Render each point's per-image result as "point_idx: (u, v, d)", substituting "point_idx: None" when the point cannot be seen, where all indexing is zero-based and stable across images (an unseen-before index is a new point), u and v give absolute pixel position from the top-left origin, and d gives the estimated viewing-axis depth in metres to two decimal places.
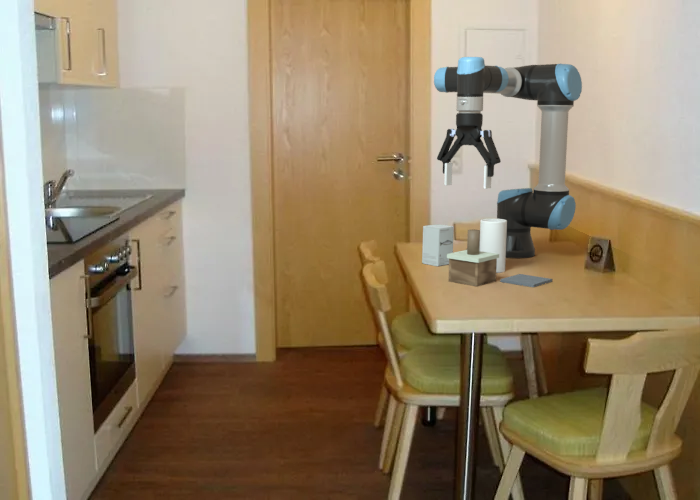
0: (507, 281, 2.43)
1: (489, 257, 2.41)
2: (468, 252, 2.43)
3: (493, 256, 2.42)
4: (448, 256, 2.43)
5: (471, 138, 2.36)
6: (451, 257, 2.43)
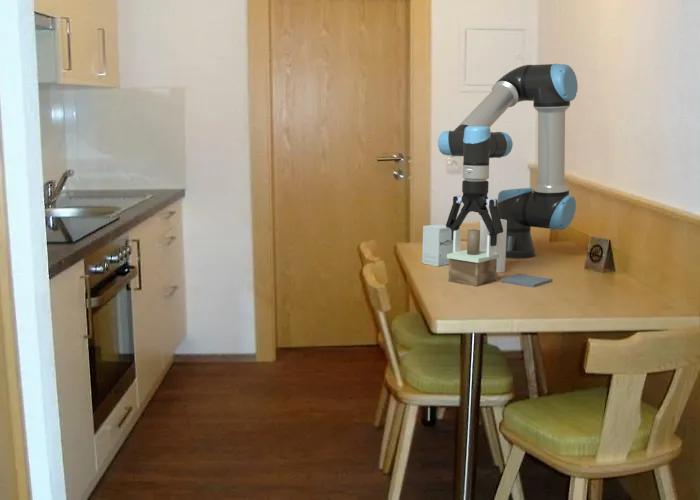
0: (507, 281, 2.43)
1: (489, 257, 2.41)
2: (468, 252, 2.43)
3: (493, 256, 2.42)
4: (448, 256, 2.43)
5: (477, 206, 2.39)
6: (451, 257, 2.43)
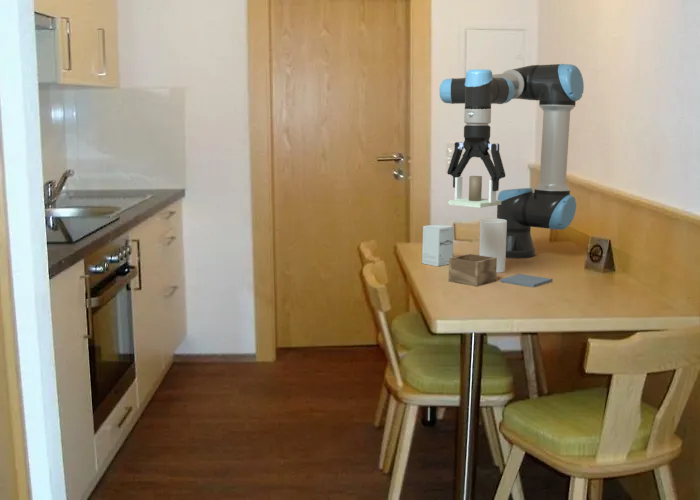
0: (507, 281, 2.43)
1: (491, 203, 2.38)
2: (470, 198, 2.40)
3: (495, 202, 2.40)
4: (450, 202, 2.41)
5: (479, 150, 2.36)
6: (453, 203, 2.40)
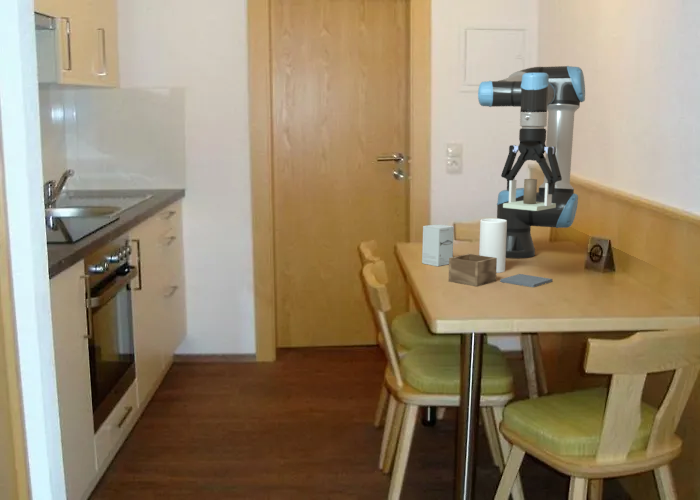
0: (507, 281, 2.43)
1: (546, 206, 2.38)
2: (525, 201, 2.40)
3: (550, 205, 2.39)
4: (504, 205, 2.41)
5: (535, 154, 2.36)
6: (508, 206, 2.40)
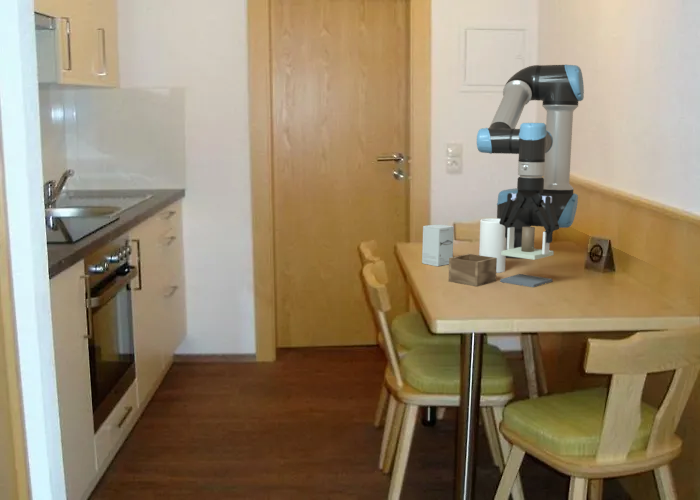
0: (507, 281, 2.43)
1: None
2: (523, 249, 2.43)
3: None
4: (502, 253, 2.43)
5: (532, 203, 2.39)
6: (506, 254, 2.42)
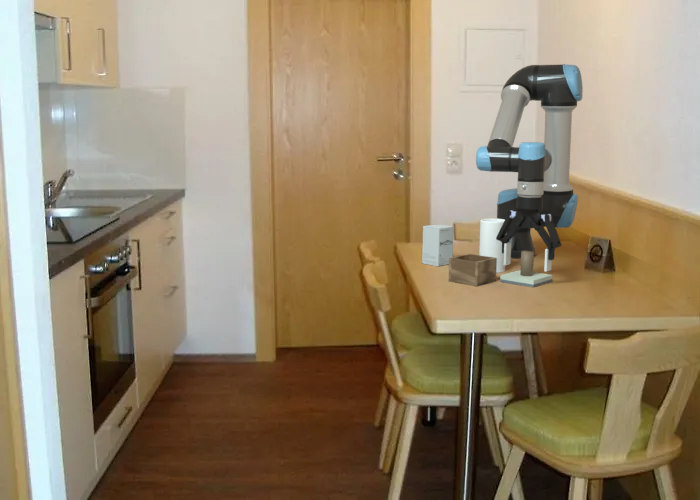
0: (507, 281, 2.43)
1: (543, 278, 2.42)
2: (522, 273, 2.44)
3: (547, 277, 2.43)
4: (502, 277, 2.44)
5: (532, 221, 2.40)
6: (505, 278, 2.44)
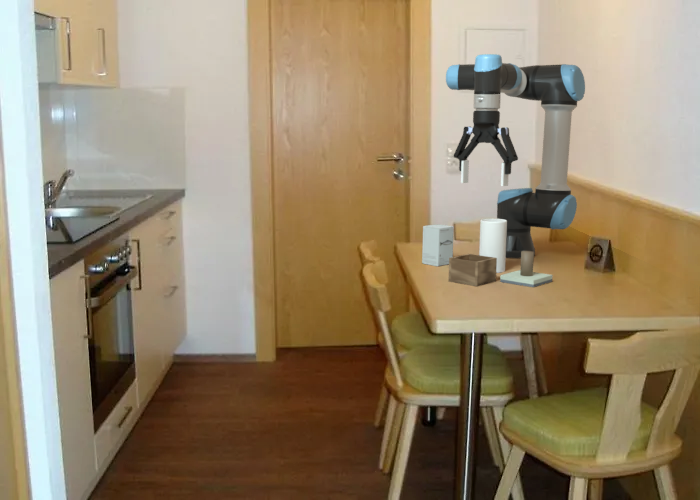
0: (507, 281, 2.43)
1: (543, 278, 2.42)
2: (522, 273, 2.44)
3: (547, 277, 2.43)
4: (502, 277, 2.44)
5: (488, 136, 2.35)
6: (505, 278, 2.44)
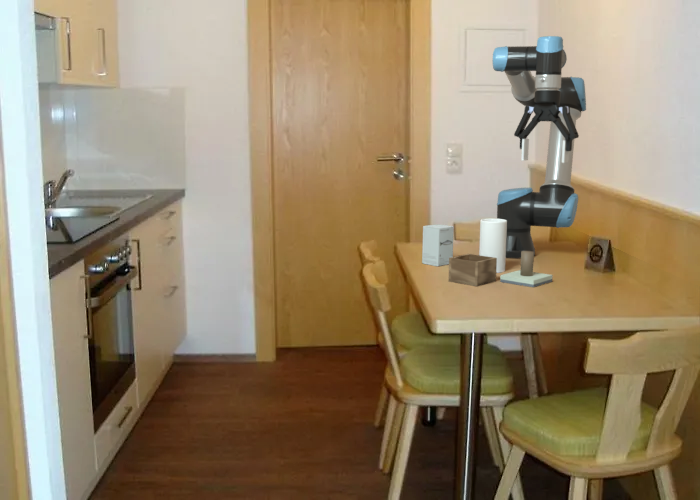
0: (507, 281, 2.43)
1: (543, 278, 2.42)
2: (522, 273, 2.44)
3: (547, 277, 2.43)
4: (502, 277, 2.44)
5: (550, 114, 2.46)
6: (505, 278, 2.44)
